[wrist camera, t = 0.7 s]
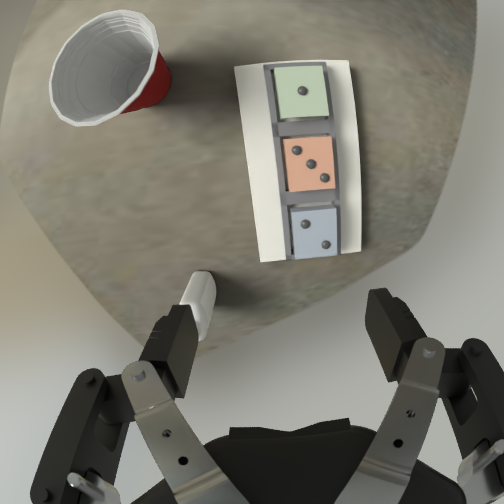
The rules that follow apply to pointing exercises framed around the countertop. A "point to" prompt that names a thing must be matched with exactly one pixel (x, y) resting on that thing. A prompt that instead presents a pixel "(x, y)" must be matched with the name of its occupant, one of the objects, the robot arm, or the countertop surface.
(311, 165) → the key three
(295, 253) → the key two
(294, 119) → the keypad
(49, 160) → the countertop surface
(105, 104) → the plastic cup
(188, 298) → the eye dropper bottle
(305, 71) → the key one
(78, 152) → the countertop surface
